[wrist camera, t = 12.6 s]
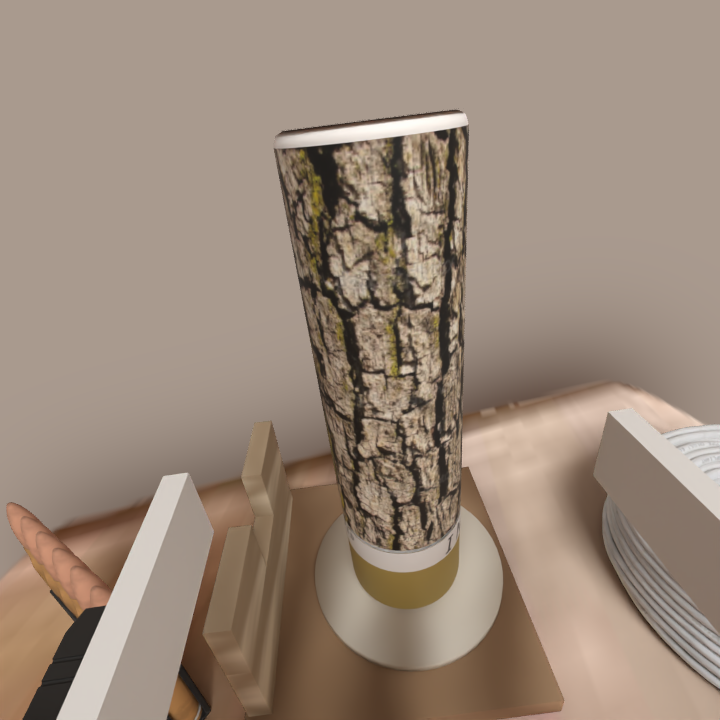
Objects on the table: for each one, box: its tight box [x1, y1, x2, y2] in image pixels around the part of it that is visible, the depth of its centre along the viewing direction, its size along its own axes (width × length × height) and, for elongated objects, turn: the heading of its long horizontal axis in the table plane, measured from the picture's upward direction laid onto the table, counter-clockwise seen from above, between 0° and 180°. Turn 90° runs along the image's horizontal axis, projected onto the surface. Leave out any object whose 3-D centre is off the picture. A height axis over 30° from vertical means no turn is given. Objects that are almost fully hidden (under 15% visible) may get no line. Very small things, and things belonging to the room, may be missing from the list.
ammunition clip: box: [7, 502, 211, 720], centre depth 22 cm, size 11×2×12 cm, turn 56°
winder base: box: [202, 421, 564, 720], centre depth 25 cm, size 16×16×9 cm
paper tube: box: [274, 110, 469, 609], centre depth 21 cm, size 7×7×25 cm
